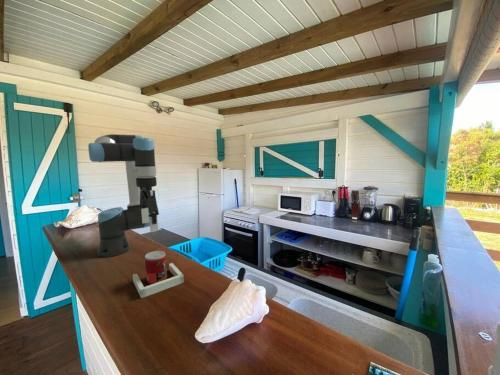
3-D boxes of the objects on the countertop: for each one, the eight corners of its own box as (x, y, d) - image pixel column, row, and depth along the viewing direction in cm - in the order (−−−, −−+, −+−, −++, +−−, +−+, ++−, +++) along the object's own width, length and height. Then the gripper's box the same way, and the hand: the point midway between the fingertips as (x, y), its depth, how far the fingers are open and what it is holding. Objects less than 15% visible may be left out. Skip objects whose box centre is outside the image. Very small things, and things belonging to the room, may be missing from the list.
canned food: (160, 285, 86) (158, 259, 84) (142, 283, 87) (140, 257, 86) (170, 275, 93) (169, 251, 92) (154, 273, 95) (152, 249, 93)
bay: (133, 281, 89) (132, 274, 88) (172, 269, 99) (172, 262, 98) (141, 298, 78) (140, 290, 78) (184, 282, 88) (183, 275, 88)
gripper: (129, 174, 96) (133, 221, 99) (143, 180, 76) (147, 238, 80) (148, 173, 100) (151, 218, 104) (165, 179, 81) (168, 233, 84)
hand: (149, 226), depth 92 cm, fingers open, 13 cm apart
